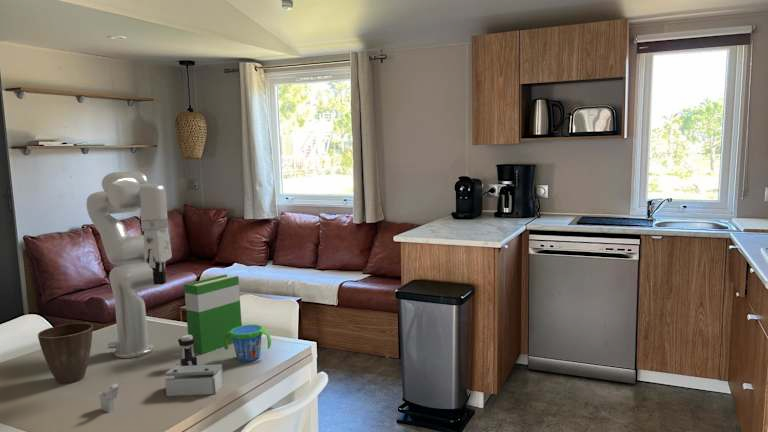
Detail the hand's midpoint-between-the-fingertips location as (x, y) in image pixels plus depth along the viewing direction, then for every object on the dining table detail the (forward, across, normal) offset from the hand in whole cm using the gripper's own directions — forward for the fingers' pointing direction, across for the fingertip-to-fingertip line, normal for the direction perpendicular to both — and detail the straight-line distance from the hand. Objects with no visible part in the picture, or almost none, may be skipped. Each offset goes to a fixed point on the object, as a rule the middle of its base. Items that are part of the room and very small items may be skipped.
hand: (159, 283), depth 174 cm
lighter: (+29, -25, +6) cm, 39 cm away
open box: (+29, -13, -13) cm, 34 cm away
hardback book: (+29, +26, -8) cm, 40 cm away
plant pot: (+29, -1, +30) cm, 42 cm away
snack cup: (+29, +11, -23) cm, 39 cm away
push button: (+29, +6, -4) cm, 30 cm away
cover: (+24, -13, -13) cm, 30 cm away
